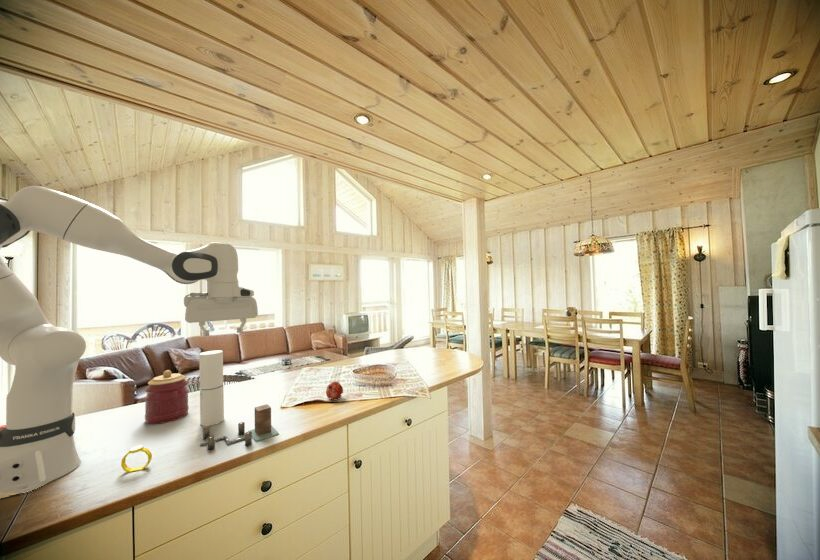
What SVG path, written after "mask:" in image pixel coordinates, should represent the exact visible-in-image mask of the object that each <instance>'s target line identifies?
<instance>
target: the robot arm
mask: <svg viewBox="0 0 820 560" xmlns="http://www.w3.org/2000/svg"><path fill="white" fill-rule="evenodd" d="M31 232H39V233H42V234H43V233H44V234H47V235H50V236H53V237H55V238H58V239H61V240H64V241H66V242H69V243H72V244H74V245H77V246H81V247H84V248H89V249H91V250H92V249H93V250H96V251H101V252H106V253H111V254H116V255H120V256H124V257H128V258H130V259H133V260H136V261H138V262H140V263H144V264H146V265H148V266H151V267H153V268H156V269H158V270H161V271H162V272H164V273H165V274H166V275H167V277H169V278H171V280H173V281H174V282H176V283H178V284H180V285H181V284H182V285H191V284H195V283H197V282H199V281H202V280H204V281H206V292H190V293H189V294H186V295H185V296H184V298H183V304H184V307H185V315H184V320H185V322H187V323H189V324H192V323H193V324H194V323H198V326H199V327H200V329H201V330H202V332H203V333H202V335H203V337H209V336H210V330H209V329H206V328H205V327H204V326H206V323H207V322H219V321H232V320H233V321H234V320H239V321H240V325H239V326H238V327H237V326H236V333H239V334H240V333H243V331H244V330H243V328H244V326H245V325H246V323H247V319H255V318H257V316H258V315H259V312H258V303H257V299H255V297H254V296H255V292H254V290H252V289H249V288H245V287H242V286H241V287H240V286H239V280H238V273H239V259H238V258H239V257H238V253H237V249H236V248H235V247H234V246H233V245H231V244H228V243H225V242H219V241H212V242H209V243H207V244H205V245H204V246H200V247H197V248H195V249H190V250H185V251H182V252H180V253H177V252H172V251H170V250H167V249H166V248H163V247H160V246H158V245H156V244H154V243H151V242H150V241H147V240H145V239H143V238H141V237H139V236H138V235H137V234H136V233H134V232H133V231H132V230H131V229H130V228H129V227H128V226H127V225H126V224H125V222H124V221H123V220H122V219H121V218H119V217H117V216H116V215H114V214H112V213H111V212H109V211H107V210H105V209H104V208H102V207H99V206H97V205H95V204H93V203H90V202H89V201H86V200H83V199H81V198H78V197H76V196H73V195H70V194H67V193H65V192H62V191H58V190H55V189H52V188H49V187H45V186H41V185H29V186H26V187H22V188H20V189H18V191H16V192H15V193H13V195H12V196H11V197H10V199H7V198H4V197H3V198H2V197H0V250H1V249H2V248H7V247H8V246H10V245H12V244H14V243H15V242H17V241H19V240H21V239H23V238H24V237H26V236H27V235H28V234H29V233H31ZM86 348H87V344H86V340H85V338H84V337H83V336H82V335H81V334H79V332H76V331H75V330H73V329H71V328H68V327H65V326H55V325H53V324H52V323H51V322H50V321H49V320H48V319H47V317H46V315H45V313H44V312H43V310H42V309H41V306H40V304H39V300H38V299H37V297H36V296H35V295H34V293H32V291H31V290H30V289H29V288H28V287H27V286H26V285H25V284H24V283H23V281H22V280H21V279H20V278H19V277H18V276H17V275H16V274H15V273H14V271H12V269H11V268H10V267H9V266H8V265H7V264H6V263H5V262H4V260H3V259H2V257H1V256H0V358H1V359H2V360H3V361H4V362H6V363H8V364H9V365H13V366H14V367H15V370H14V376H13V378H12V379H13V381H12V383H11V387H10V390H9V391H8V393H7V394H6V403H5V404H6V405H5V406H6V407H5V411H6V412H5V415H6V416H5V424H3V425H0V491H2V492H3V493H4V494H7V493H22V492H27V491H31V490H34V489H36V488H38V489H40V488H41V486H42V487H43V486H46V484H48V483H50V482H53V481H54V480H57V479H59V478H61V477H63V476H65V475H67V474H69V473H70V472H72V471H74V470H75V469H77V468H78V467H79V466H80V464H81V461H82V460H81V459H80V457H79V454H78V451H77V448H76V444H75V443H76V442H75V439H74V434H75V431H76V417H75V416H76V415H75V412H73V389H74V381H75V377H76V373H77V369H78V366H79V362H80V359H81V358H82V357H83V355H84V353H85V351H86ZM39 487H40V488H39ZM36 490H37V489H36ZM34 491H35V490H34ZM31 492H32V491H31Z"/></svg>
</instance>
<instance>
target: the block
mask: <svg viewBox="0 0 820 560" xmlns="http://www.w3.org/2000/svg"><path fill="white" fill-rule="evenodd" d="M271 425H272V407H271V406H270V405H269V404H268V403H266V404H263V405H259V406H255V407H254V429H255V433H256V434H257V435H258V436H260V435H263V434H267V433H270V432H271Z"/></svg>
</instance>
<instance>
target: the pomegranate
mask: <svg viewBox="0 0 820 560" xmlns="http://www.w3.org/2000/svg"><path fill="white" fill-rule="evenodd" d="M343 392H344V389H343V386H342V384H341V383H340V382H339V381H332V382H331V383H330V384H328V385H327V387H326V389H325V394H326V398H328V399H329V398H331V399H330V400H333V399H338V398H339V399H340V398H341V397H342V394H343ZM339 399H338V400H339Z"/></svg>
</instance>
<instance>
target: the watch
mask: <svg viewBox="0 0 820 560" xmlns="http://www.w3.org/2000/svg"><path fill="white" fill-rule="evenodd" d="M138 452H143V453H145V454H146V456H147V462H146V464H145V465H143V466H140V467H134V468H132V467H130V466H128V465H127V463H126V458H127V457H128V455H130V454H136V453H138ZM152 458H153V457H152V452H151V451H150V449H148V448H147V447H144V445H142V444H140V445H136V446H133V447H131V448H130V449H129V450H128V452H126V454H125V455H124V456H123V457H122V459H121V461H120V463H121V464H120V465H121V469H122V470H123V471H125V472H127V473H133V472H138V471H143V470H144V469H145V468H147V467H148V466H149V464H150V463H151V460H152Z"/></svg>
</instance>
